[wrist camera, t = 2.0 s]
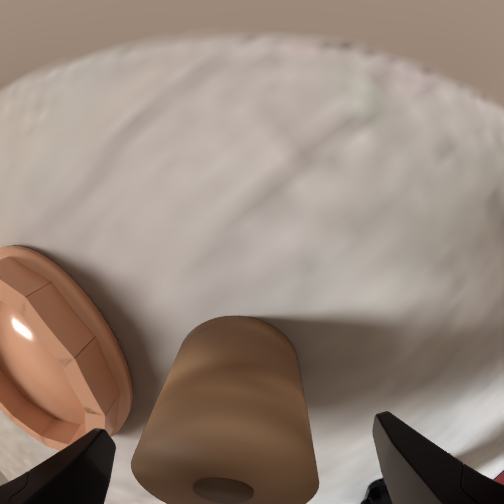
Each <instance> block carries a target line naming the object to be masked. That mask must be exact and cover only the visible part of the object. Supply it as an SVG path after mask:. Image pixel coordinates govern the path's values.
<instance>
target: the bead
mask: <svg viewBox="0 0 504 504" xmlns="http://www.w3.org/2000/svg"><path fill="white" fill-rule="evenodd" d="M131 469H132V472H133V474H134V476H135V478H136V479H137V481H138V482H139V483H140V484H141V486H142V487H143V488H144V489H146V490H147V491H148V492H149V493H150V494H152V495H153V496H155V497H156V498H158V499H159V500H161V501H163V502H165V503H167V504H306V503H307V502H308V501H310V500H311V499H312V498H313V497H314V495H315V494H316V492H317V490H318V488H319V478H318V472H317V466H316V460H315V454H314V448H313V442H312V436H311V430H310V424H309V419H308V413H307V407H306V402H305V396H304V391H303V386H302V380H301V375H300V370H299V364H298V359H297V354H296V351H295V349H294V347H293V345H292V343H291V342H290V341H289V339H288V338H287V337H286V336H285V335H284V334H283V333H282V332H281V331H280V330H278V329H277V328H276V327H274V326H272V325H270V324H269V323H266V322H264V321H262V320H259V319H255V318H252V317H246V316H224V317H218V318H215V319H211V320H208V321H206V322H204V323H202V324H200V325H199V326H197V327H196V328H195V329H193V330H192V331H191V332H190V333H189V334H188V335H187V337H186V338H185V340H184V341H183V343H182V345H181V348H180V350H179V352H178V354H177V356H176V359H175V361H174V363H173V365H172V368H171V370H170V372H169V374H168V376H167V379H166V381H165V383H164V385H163V388H162V390H161V392H160V395H159V397H158V399H157V401H156V404H155V406H154V408H153V411H152V413H151V415H150V417H149V420H148V422H147V424H146V427H145V429H144V431H143V434H142V436H141V439H140V441H139V443H138V446H137V448H136V450H135V453H134V455H133V458H132V461H131Z"/></svg>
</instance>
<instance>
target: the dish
mask: <svg viewBox="0 0 504 504" xmlns="http://www.w3.org/2000/svg"><path fill="white" fill-rule="evenodd" d="M132 402H133V387H132V380H131V376H130V371H129V368H128V365H127V362H126V359H125V357H124V354H123V352H122V350H121V348H120V346H119V343H118V341H117V339H116V338H115V336H114V334H113V332H112V330H111V329H110V327H109V325H108V323H107V322H106V320H105V319H104V317H103V316H102V314H101V313H100V311H99V310H98V309H97V307H96V306H95V305H94V303H93V302H92V301H91V299H90V298H89V297H88V295H87V294H86V293H85V292H84V291H83V290H82V289H81V287H80V286H79V285H78V284H77V283H76V282H75V281H74V280H73V279H72V278H71V277H70V276H69V275H68V274H67V273H66V272H65V271H64V270H63V269H62V268H60V267H59V266H58V265H57V264H55V263H54V262H53V261H52V260H50V259H48V258H47V257H45V256H44V255H42V254H41V253H38V252H36V251H34V250H32V249H30V248H26V247H22V246H13V245H11V246H6V247H2V248H0V409H1V410H2V411H3V412H4V413H5V414H6V415H7V416H8V418H9V419H10V420H11V421H12V422H14V423H15V424H16V425H17V426H19V427H20V428H21V429H23V430H24V431H25V432H27V433H28V434H30V435H31V436H32V437H34V438H35V439H37V440H38V441H40V442H41V443H43V444H44V445H46V446H48V447H50V448H53V449H56V450H59V451H61V450H63V449H64V448H66V447H67V446H69V445H70V444H72V443H73V442H75V441H76V440H78V439H79V438H81V437H82V436H84V435H85V434H87V433H88V432H89V431H91V430H92V429H94V428H101V429H105V430H106V431H107V432H108V434H109V435H110V437H111V436H113V435H114V434H116V433H117V432H118V431H119V430H120V429H121V428H122V426H123V424H124V423H125V421H126V419H127V417H128V415H129V413H130V410H131V407H132Z"/></svg>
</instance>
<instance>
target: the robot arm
mask: <svg viewBox="0 0 504 504" xmlns="http://www.w3.org/2000/svg"><path fill="white" fill-rule="evenodd" d="M373 438H374V442H375V446H376V451H377V455H378V459H379V464H380V468H381V472H382V475H383V478H384V480H382V481H379V482H376V483H373V484H371V485H369V486H368V489H367V492H366V495H365V498H364V500H363V501H362V502H361V503H360V504H504V484H501V483H499V482H497V481H494V480H492V479H490V478H488V477H486V476H484V475H482V474H480V473H479V472H477V471H475V470H474V469H472V468H470V467H469V466H467V465H466V464H463V463H462V462H461V461H459V460H458V459H456V458H455V457H453V456H452V455H450V454H449V453H447V452H446V451H444V450H443V449H441V448H440V447H438V446H437V445H435V444H434V443H433V442H431V441H430V440H428V439H427V438H425V437H424V436H422V435H421V434H420V433H418V432H417V431H415V430H414V429H412V428H411V427H410V426H408V425H407V424H405V423H404V422H403V421H401V420H400V419H398V418H397V417H396V416H394V415H393V414H392V413H390V412H388V411H385V412H382V413H378V414H376V415H375V418H374V424H373ZM115 450H116V446H115V443H114V441H113V440H112V438H111V437H110V435H109V434H108V432H107V431H106V430H105V429H101V428H94V429H92V430H91V431H89V432H88V433H87V434H85V435H84V436H82V437H81V438H79V439H78V440H76V441H75V442H73V443H72V444H70V445H69V446H67V447H66V448H64V449H63V450H61V451H59V452H58V453H56V454H55V455H53V456H52V457H50V458H49V459H47V460H45V461H44V462H42V463H41V464H39V465H37V466H36V467H34V468H33V469H31V470H30V471H28V472H26V473H24V474H23V475H21V476H19V477H17V478H16V479H14V480H12V481H10V482H8V483H6V484H3V485H1V486H0V504H104V501H105V497H106V494H107V490H108V487H109V483H110V478H111V473H112V467H113V461H114V456H115Z"/></svg>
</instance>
